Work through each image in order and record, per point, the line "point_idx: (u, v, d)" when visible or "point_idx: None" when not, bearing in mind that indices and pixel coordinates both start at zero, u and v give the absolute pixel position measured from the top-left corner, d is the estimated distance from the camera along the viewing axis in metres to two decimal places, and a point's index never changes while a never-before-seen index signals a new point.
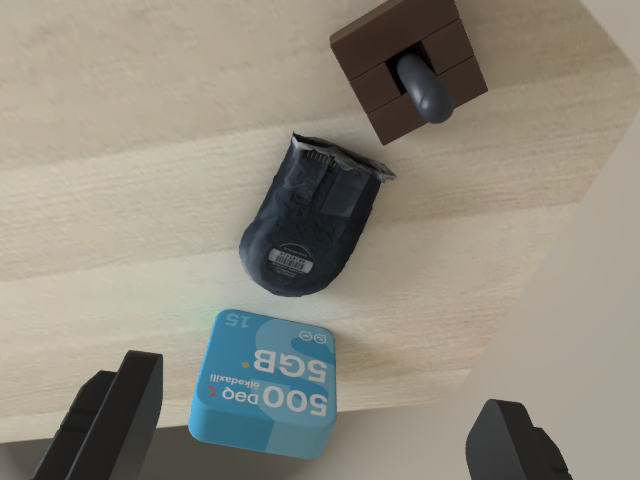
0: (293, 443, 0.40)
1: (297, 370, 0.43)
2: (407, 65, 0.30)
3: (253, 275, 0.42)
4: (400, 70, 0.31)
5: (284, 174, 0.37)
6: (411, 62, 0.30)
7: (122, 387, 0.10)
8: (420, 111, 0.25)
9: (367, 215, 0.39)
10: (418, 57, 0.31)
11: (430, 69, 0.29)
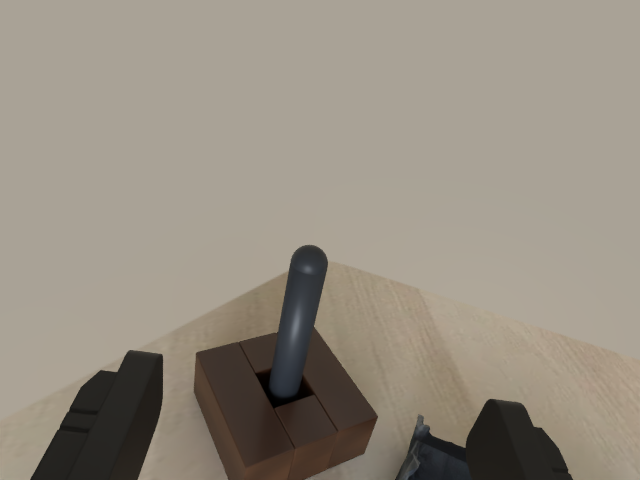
0: None
1: None
2: (277, 363, 0.26)
3: None
4: (283, 380, 0.26)
5: None
6: (274, 360, 0.26)
7: (122, 387, 0.10)
8: (314, 270, 0.22)
9: None
10: None
11: None
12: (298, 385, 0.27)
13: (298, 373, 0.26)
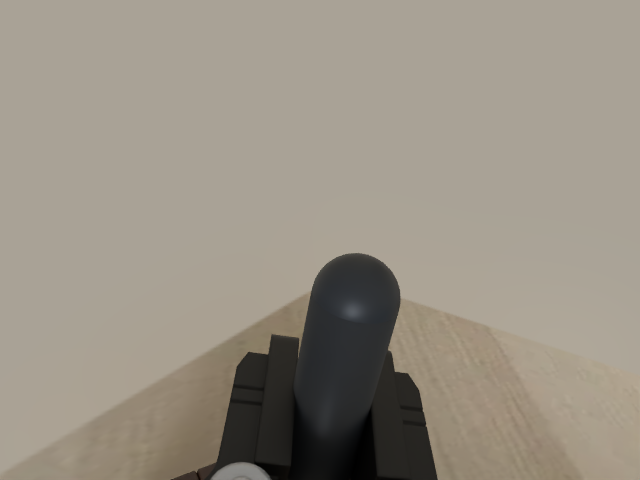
0: None
1: None
2: None
3: None
4: None
5: None
6: None
7: (277, 365, 0.11)
8: (374, 313, 0.09)
9: None
10: None
11: None
12: None
13: None
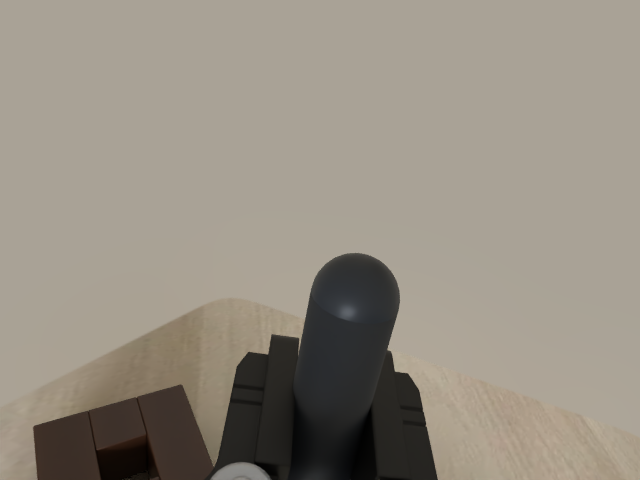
0: None
1: None
2: None
3: None
4: None
5: None
6: None
7: (277, 365, 0.11)
8: (373, 313, 0.09)
9: None
10: None
11: None
12: None
13: None
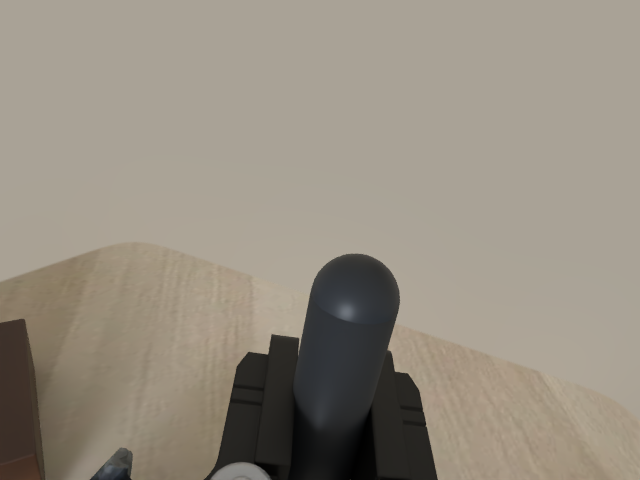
0: None
1: None
2: None
3: None
4: None
5: None
6: None
7: (277, 365, 0.11)
8: (373, 313, 0.09)
9: None
10: None
11: None
12: None
13: None
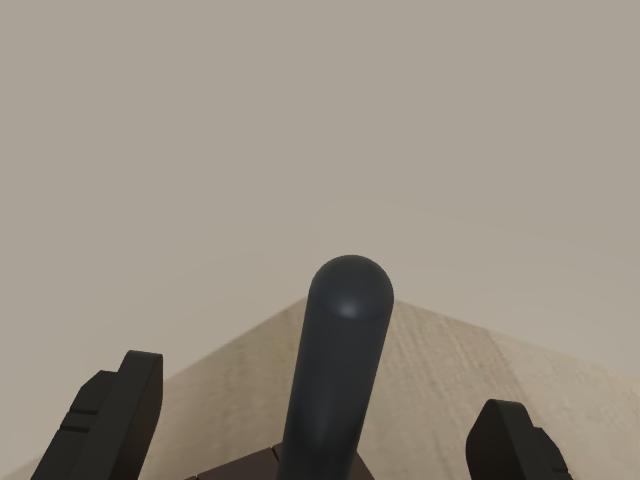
0: None
1: None
2: None
3: None
4: None
5: None
6: None
7: (122, 387, 0.10)
8: (368, 310, 0.09)
9: None
10: None
11: None
12: None
13: None
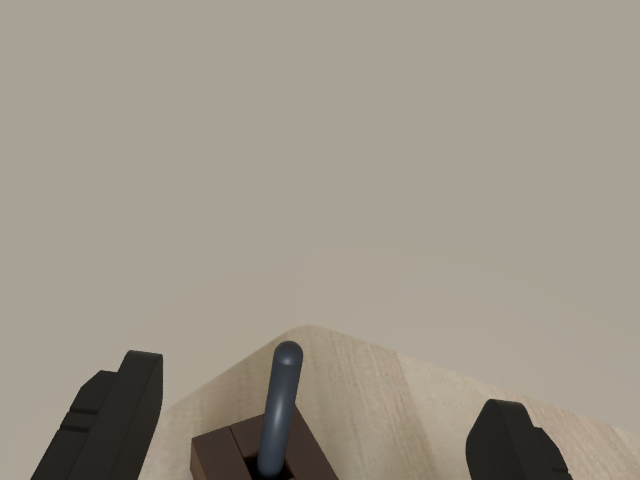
0: None
1: None
2: (264, 442, 0.31)
3: None
4: (270, 456, 0.31)
5: None
6: (261, 440, 0.31)
7: (122, 387, 0.10)
8: (292, 361, 0.28)
9: None
10: None
11: None
12: (282, 461, 0.32)
13: (282, 450, 0.31)
